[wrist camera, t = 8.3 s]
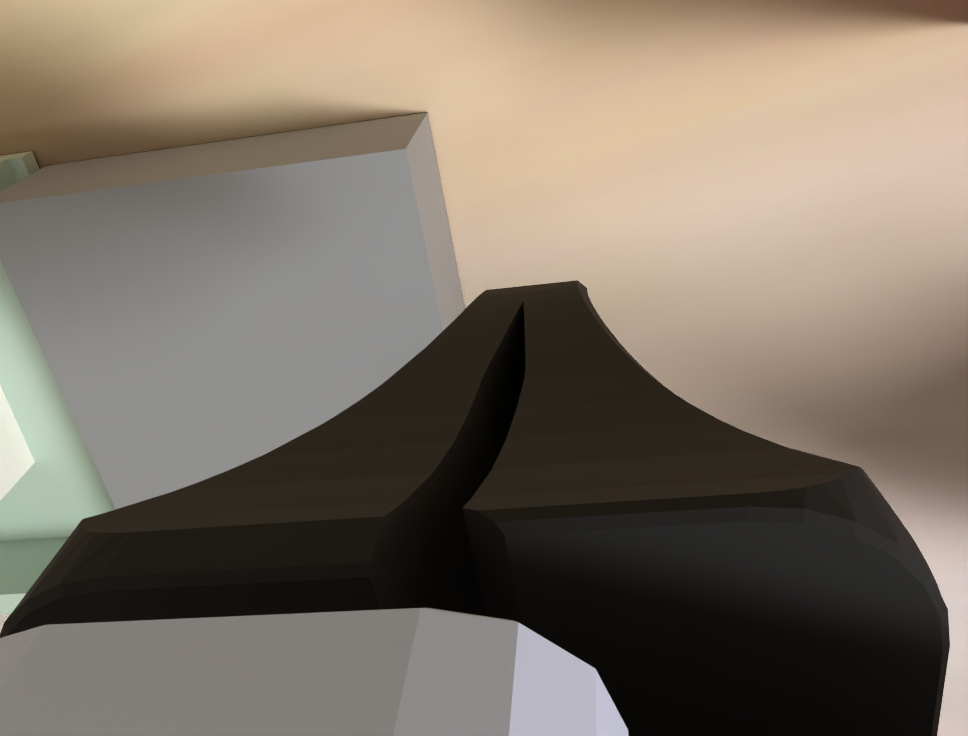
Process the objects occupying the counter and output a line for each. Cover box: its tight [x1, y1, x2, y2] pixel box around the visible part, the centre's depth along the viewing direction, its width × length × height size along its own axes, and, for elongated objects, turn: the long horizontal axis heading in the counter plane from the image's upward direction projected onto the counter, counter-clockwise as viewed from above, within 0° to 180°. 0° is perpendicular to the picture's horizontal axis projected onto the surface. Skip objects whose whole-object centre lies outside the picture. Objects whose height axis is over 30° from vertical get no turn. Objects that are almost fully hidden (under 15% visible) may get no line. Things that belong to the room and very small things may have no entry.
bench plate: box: [0, 112, 465, 509], centre depth 23 cm, size 12×10×3 cm
